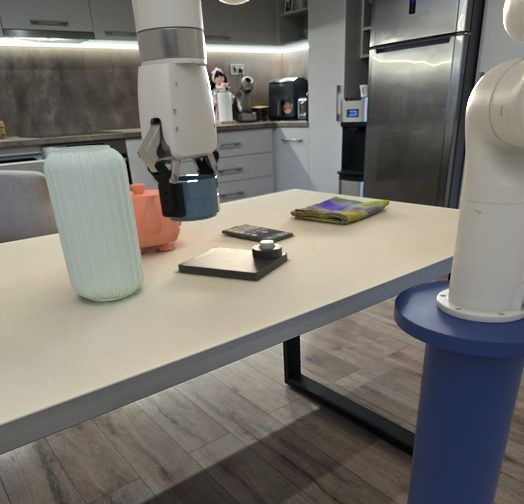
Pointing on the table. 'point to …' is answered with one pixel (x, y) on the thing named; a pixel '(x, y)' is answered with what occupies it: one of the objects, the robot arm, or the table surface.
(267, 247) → the button
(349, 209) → the dish towel
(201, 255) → the scale
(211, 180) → the bowl
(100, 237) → the vase
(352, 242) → the table surface
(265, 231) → the smartphone
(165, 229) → the teapot
